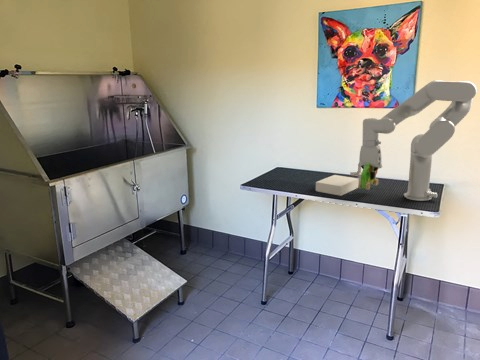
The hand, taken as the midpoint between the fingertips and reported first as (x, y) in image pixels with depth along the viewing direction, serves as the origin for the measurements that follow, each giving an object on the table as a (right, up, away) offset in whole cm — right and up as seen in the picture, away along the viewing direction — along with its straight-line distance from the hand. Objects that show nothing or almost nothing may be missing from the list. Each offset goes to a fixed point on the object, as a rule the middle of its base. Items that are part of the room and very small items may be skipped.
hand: (369, 178), depth 204 cm
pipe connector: (+2, -2, +26) cm, 26 cm away
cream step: (-13, -6, +14) cm, 20 cm away
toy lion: (0, -4, +1) cm, 4 cm away
